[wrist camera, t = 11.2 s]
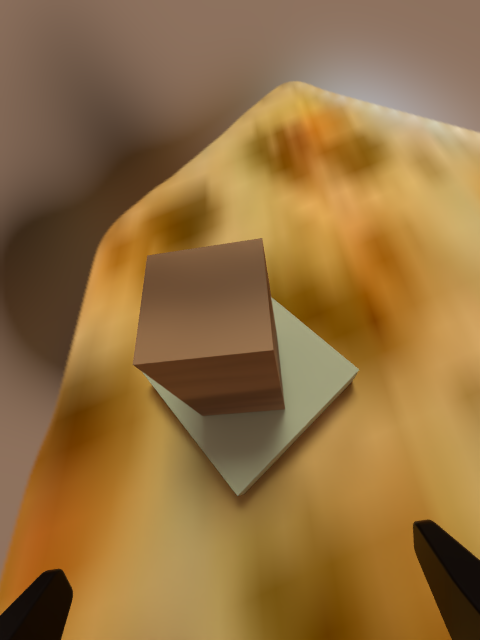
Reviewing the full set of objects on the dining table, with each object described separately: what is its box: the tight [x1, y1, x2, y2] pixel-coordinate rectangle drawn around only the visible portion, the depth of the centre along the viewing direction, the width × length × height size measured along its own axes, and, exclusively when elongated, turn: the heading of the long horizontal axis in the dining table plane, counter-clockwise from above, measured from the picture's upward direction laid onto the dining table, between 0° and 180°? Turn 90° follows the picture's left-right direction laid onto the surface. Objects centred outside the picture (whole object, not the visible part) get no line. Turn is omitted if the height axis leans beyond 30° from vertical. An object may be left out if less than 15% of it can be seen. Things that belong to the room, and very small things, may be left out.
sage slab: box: [143, 297, 359, 496], centre depth 21 cm, size 10×10×3 cm
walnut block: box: [133, 238, 285, 416], centre depth 16 cm, size 5×5×9 cm
